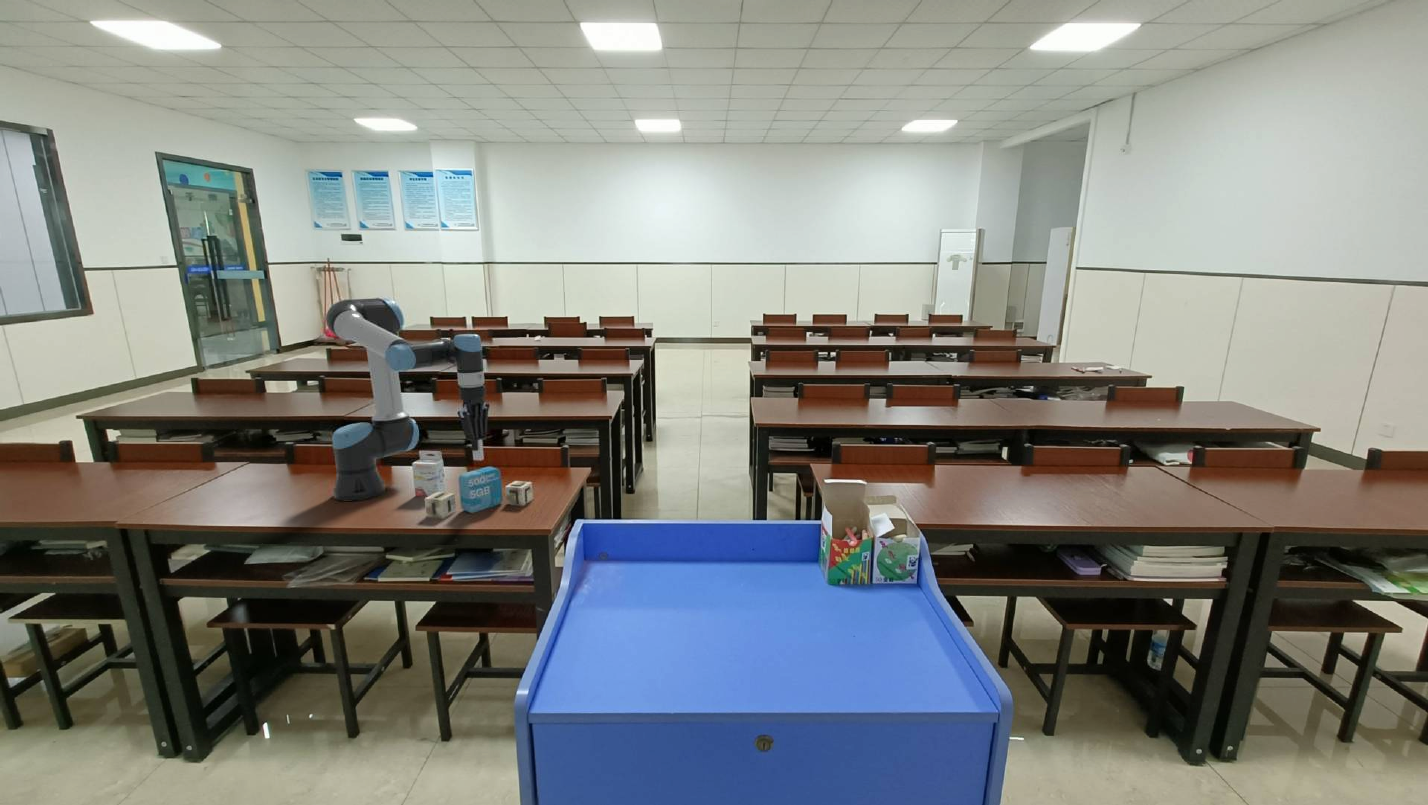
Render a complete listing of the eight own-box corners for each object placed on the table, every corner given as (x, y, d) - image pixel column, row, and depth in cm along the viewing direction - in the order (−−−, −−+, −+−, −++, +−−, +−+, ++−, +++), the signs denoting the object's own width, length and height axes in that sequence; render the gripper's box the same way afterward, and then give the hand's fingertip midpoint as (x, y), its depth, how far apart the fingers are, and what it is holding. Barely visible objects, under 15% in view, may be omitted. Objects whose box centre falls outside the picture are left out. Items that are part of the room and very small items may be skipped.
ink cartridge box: (414, 496, 207) (409, 454, 204) (422, 491, 211) (418, 450, 208) (439, 497, 206) (434, 455, 203) (446, 492, 211) (442, 450, 208)
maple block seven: (506, 504, 199) (504, 486, 198) (516, 498, 205) (515, 480, 204) (523, 506, 198) (522, 487, 196) (533, 499, 204) (532, 481, 202)
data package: (468, 514, 191) (465, 477, 189) (461, 511, 194) (457, 474, 191) (503, 503, 200) (500, 467, 198) (495, 500, 203) (492, 465, 200)
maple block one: (426, 517, 189) (424, 498, 188) (439, 509, 195) (437, 491, 194) (443, 519, 188) (441, 499, 187) (456, 511, 194) (454, 492, 192)
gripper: (469, 389, 182) (476, 466, 187) (495, 382, 194) (501, 454, 199) (447, 388, 184) (454, 464, 188) (474, 381, 196) (480, 453, 201)
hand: (478, 459), depth 194 cm, fingers closed
